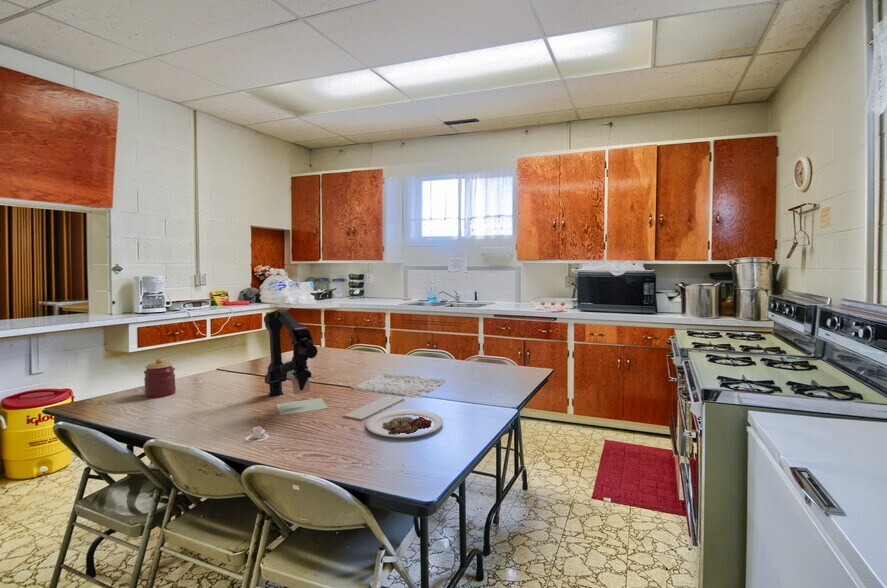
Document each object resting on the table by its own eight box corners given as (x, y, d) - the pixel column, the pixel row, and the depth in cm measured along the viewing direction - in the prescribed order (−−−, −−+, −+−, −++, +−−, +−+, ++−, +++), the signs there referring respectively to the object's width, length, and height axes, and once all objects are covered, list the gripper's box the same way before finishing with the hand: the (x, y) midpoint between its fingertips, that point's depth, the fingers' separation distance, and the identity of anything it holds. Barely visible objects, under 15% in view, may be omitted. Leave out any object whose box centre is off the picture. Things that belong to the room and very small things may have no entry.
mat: (275, 405, 205) (275, 404, 205) (321, 399, 214) (321, 398, 214) (280, 416, 191) (280, 414, 191) (328, 408, 200) (328, 407, 200)
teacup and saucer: (258, 432, 174) (258, 422, 174) (275, 435, 171) (274, 425, 171) (240, 441, 166) (240, 430, 166) (257, 444, 163) (256, 433, 163)
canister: (149, 391, 227) (147, 356, 226) (178, 389, 231) (177, 354, 230) (141, 399, 215) (139, 362, 214) (172, 396, 219) (170, 360, 218)
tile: (293, 393, 203) (291, 378, 202) (309, 390, 206) (307, 375, 205) (294, 394, 201) (292, 379, 200) (310, 391, 204) (308, 376, 203)
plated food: (355, 421, 185) (355, 413, 185) (421, 409, 200) (421, 401, 200) (383, 447, 159) (383, 438, 159) (457, 431, 174) (457, 423, 174)
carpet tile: (445, 383, 243) (445, 379, 243) (420, 399, 215) (420, 395, 215) (381, 376, 259) (381, 372, 259) (350, 390, 231) (350, 386, 231)
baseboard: (338, 417, 191) (361, 422, 185) (338, 410, 191) (361, 415, 185) (383, 397, 218) (404, 401, 212) (383, 391, 218) (404, 395, 212)
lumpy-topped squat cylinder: (308, 374, 261) (308, 359, 261) (290, 379, 250) (289, 363, 250) (296, 371, 267) (295, 357, 266) (277, 376, 256) (277, 361, 255)
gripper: (278, 352, 207) (279, 386, 208) (283, 361, 190) (284, 397, 191) (303, 350, 212) (304, 383, 213) (311, 358, 195) (312, 394, 196)
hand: (300, 389), depth 203 cm, fingers closed on tile, 2 cm apart
